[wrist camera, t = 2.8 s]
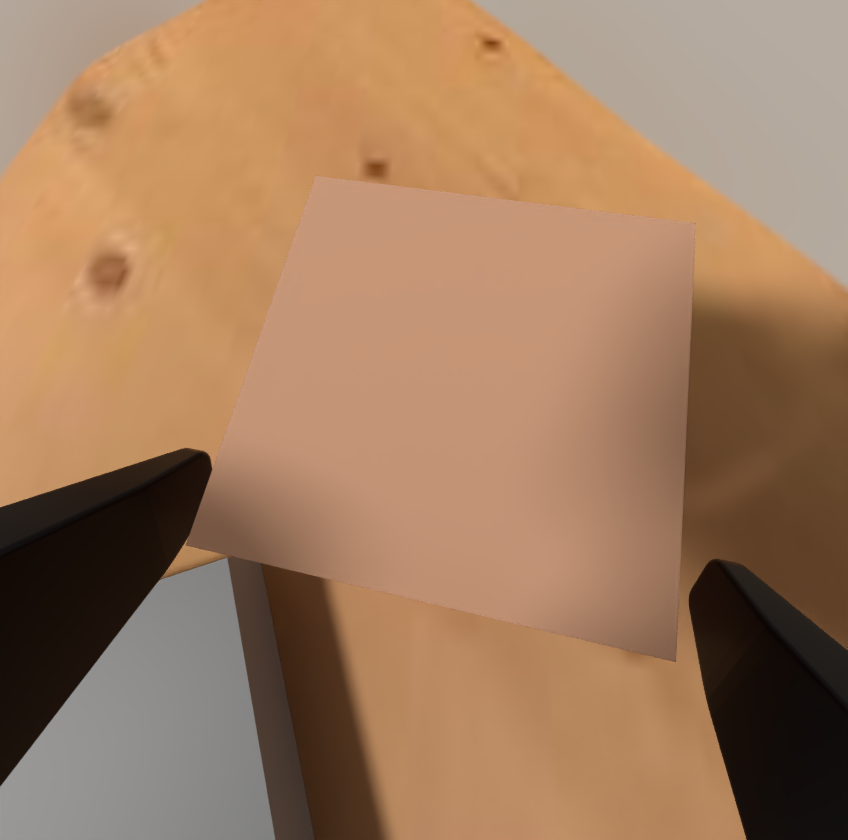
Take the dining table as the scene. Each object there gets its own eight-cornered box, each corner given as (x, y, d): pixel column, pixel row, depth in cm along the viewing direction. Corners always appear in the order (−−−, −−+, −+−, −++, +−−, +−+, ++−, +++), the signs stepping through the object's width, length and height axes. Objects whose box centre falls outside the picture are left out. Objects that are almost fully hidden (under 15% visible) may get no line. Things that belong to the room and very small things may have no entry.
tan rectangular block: (512, 578, 16) (675, 661, 4) (369, 546, 16) (186, 545, 5) (532, 437, 17) (695, 223, 6) (401, 413, 18) (315, 175, 6)
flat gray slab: (338, 932, 14) (308, 1035, 11) (-32, 1066, 13) (-167, 1211, 10) (264, 555, 17) (227, 557, 14) (-30, 653, 17) (-130, 675, 14)
